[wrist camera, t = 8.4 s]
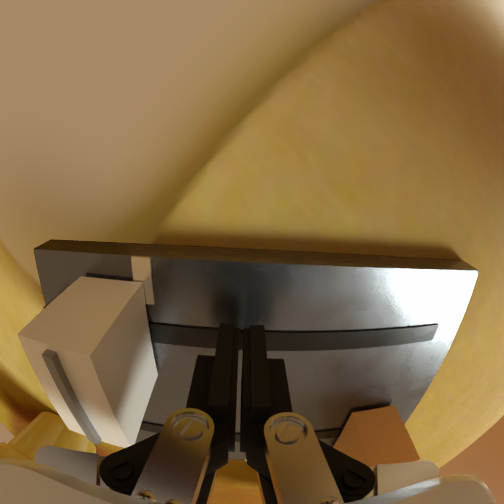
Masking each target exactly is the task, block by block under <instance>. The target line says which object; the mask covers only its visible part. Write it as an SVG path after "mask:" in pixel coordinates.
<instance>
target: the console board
mask: <svg viewBox="0 0 504 504" xmlns="http://www.w3.org/2000/svg"><path fill="white" fill-rule="evenodd" d="M34 254H35V259H36V264H37V269H38V273H39V278H40V283H41V287H42V291H43V294H44V298H45V302H46V306H48V305H49V304H50V303H51V302H52V301H53V300H54V299H55V298H56V297H58V296H59V295H60V294H61V293H62V292H63V291H64V290H66V289H67V288H68V287H69V286H70V285H71V284H72V283H74V282H75V281H76V280H77V279H78V278H80V277H81V276H83V277H92V278H102V279H111V280H121V281H132V282H143V289H144V297H145V305H146V312H147V319H148V325H149V331H150V337H151V343H152V348H153V354H154V359H155V364H156V368H157V373H158V376H157V379H156V382H155V385H154V387H153V390H152V393H151V396H150V399H149V402H148V405H147V408H146V411H145V414H144V417H143V420H142V423H141V426H140V429H139V432H138V435H137V438H136V441H135V444H136V443H138V442H140V441H142V440H144V439H146V438H149V437H151V436H153V435H155V434H157V433H159V432H161V430H162V428H163V426H164V424H165V422H166V420H167V418H168V417H169V416H170V415H171V414H172V413H173V412H175V411H177V410H180V409H185V408H186V404H187V400H188V395H189V390H190V386H191V381H192V377H193V372H194V368H195V363H196V359H197V356H198V355H209V356H215V352H216V345H217V338H218V332H219V325H220V323H230V324H234V327H235V328H240V330H239V354H238V379H237V406H236V431H235V452H229V456H228V459H235V460H245V461H247V460H246V452H240V409H241V374H242V356H243V339H244V328H250V325H264V327H265V338H266V349H267V358H273V359H284V362H285V368H286V374H287V381H288V387H289V393H290V399H291V405H292V412H293V413H296V414H299V415H301V416H303V417H305V418H306V419H307V420H308V421H309V422H310V424H311V425H312V427H313V430H314V432H315V434H316V437H317V439H319V440H321V441H323V442H324V443H326V444H328V445H330V446H331V447H333V446H334V445H335V443H336V441H337V439H338V438H339V436H340V434H341V432H342V431H343V429H344V427H345V425H346V423H347V421H348V419H349V417H350V416H351V414H352V412H359V411H365V410H371V409H377V408H382V407H387V406H392V405H395V407H396V409H397V411H398V413H399V415H400V417H401V419H402V421H403V423H404V424H405V422H406V421H407V419H408V418H409V417H410V415H411V414H412V412H413V411H414V409H415V408H416V406H417V405H418V403H419V402H420V400H421V398H422V397H423V395H424V394H425V392H426V390H427V389H428V387H429V385H430V383H431V382H432V380H433V378H434V376H435V375H436V373H437V371H438V369H439V367H440V365H441V363H442V362H443V360H444V358H445V356H446V354H447V352H448V350H449V347H450V345H451V343H452V341H453V339H454V337H455V334H456V332H457V330H458V328H459V325H460V323H461V320H462V318H463V315H464V313H465V310H466V308H467V305H468V302H469V300H470V297H471V294H472V291H473V288H474V285H475V282H476V279H477V276H478V272H479V270H477V269H476V268H474V267H472V266H471V265H469V264H468V263H466V262H464V261H462V260H445V259H427V258H409V257H391V256H373V255H355V254H336V253H317V252H298V251H279V250H259V249H240V248H220V247H199V246H179V245H158V244H137V243H115V242H95V241H73V240H49V241H47V242H46V243H44V244H42V245H40V246H38V247H36V248H35V249H34ZM46 306H44V307H43V308H45V307H46Z"/></svg>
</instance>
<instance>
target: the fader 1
mask: <svg viewBox="0 0 504 504" xmlns="http://www.w3.org/2000/svg"><path fill="white" fill-rule="evenodd" d="M18 336H19V339H20V341H21V344H22V346H23V348H24V351H25V353H26V355H27V357H28V359H29V361H30V364H31V366H32V368H33V370H34V372H35V374H36V376H37V378H38V379H39V381H40V383H41V385H42V387H43V389H44V390H45V392H46V394H47V396H48V397H49V399H50V401H51V402H52V404H53V406H54V407H55V409H56V411H57V412H58V414H59V415H60V417H61V418H62V420H63V421H64V423H65V424H66V426H67V427H68V429H69V430H71V431H74V432H77V433H79V434H82V435H85V436H87V437H88V439H89V440H90V442H92V443H95V444H98V445H99V444H100V442H101V441H103V442H106V443H109V444H112V445H116V446H119V447H123V448H127V447H129V446H131V445H133V444H135V441H136V438H137V435H138V432H139V429H140V426H141V423H142V420H143V417H144V414H145V411H146V408H147V405H148V402H149V399H150V396H151V393H152V390H153V387H154V385H155V382H156V379H157V376H158V373H157V368H156V364H155V359H154V354H153V348H152V343H151V337H150V331H149V325H148V319H147V312H146V305H145V297H144V289H143V282H132V281H121V280H111V279H102V278H92V277H83V276H81V277H80V278H78V279H77V280H76V281H75V282H74V283H72V284H71V285H70V286H69V287H68V288H67V289H66V290H64V291H63V292H62V293H61V294H60V295H59V296H58V297H56V298H55V299H54V300H53V301H52V302H51V303H50V304H49V305H48V306H46V307H45V308H44V309H43V310H42V311H41V312H40V313H39V314H38V315H37V316H36V317H35V318H34V319H33V320H32V321H31V322H30V323H28V324H27V325H26V326H25V327H24V328H23V329H22V330H21V331H20V332H19V333H18Z"/></svg>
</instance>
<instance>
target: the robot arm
mask: <svg viewBox="0 0 504 504" xmlns="http://www.w3.org/2000/svg"><path fill="white" fill-rule="evenodd" d="M239 330H240V328H235V327H234V324H230V323H220V325H219V332H218V338H217V345H216V352H215V356H209V355H198V356H197V359H196V363H195V368H194V372H193V377H192V381H191V386H190V390H189V395H188V400H187V404H186V408H185V409H180V410H177V411H175V412H173V413H172V414H171V415H170V416H169V417H168V418H167V420H166V422H165V424H164V426H163V428H162V430H161V432H159V433H157V434H155V435H153V436H151V437H149V438H146V439H144V440H142V441H140V442H138V443H136V444H133V445H131V446H129V447H127V448H124V449H122V450H120V451H117V452H115V453H113V454H110V455H109V456H107V457H105V456H99V454H97V453H89V452H83V451H76V450H71V449H65V448H60V447H55V446H44V447H41V448H40V449H39V450H38V451H37V453H36V455H35V459H34V461H30V460H25V459H19V458H3V459H0V504H209V502H210V498H211V494H212V491H213V487H214V483H215V480H216V476H217V472H218V469H219V468H221V467H222V466H224V465H225V464H227V463H228V456H229V452H235V431H236V406H237V379H238V354H239ZM240 452H246V460H247V464H248V465H249V466H250V467H252V468H253V469H254V470H256V476H257V480H258V485H259V489H260V493H261V498H262V502H263V504H497V503H496V501H495V499H494V497H493V495H492V493H491V492H490V490H489V488H488V487H487V486H486V484H485V483H484V482H483V481H482V480H481V479H479V478H478V477H476V476H473V475H464V474H457V475H448V476H441V477H440V474H439V470H438V467H437V466H436V465H435V464H434V463H433V462H430V461H415V462H406V463H394V464H377V465H376V466H375V467H368V466H367V465H365V464H364V463H362V462H360V461H358V460H356V459H354V458H352V457H350V456H348V455H346V454H344V453H342V452H340V451H339V450H337V449H335V448H333V447H331V446H330V445H328V444H326V443H324V442H323V441H321V440H319V439H317V437H316V434H315V432H314V430H313V427H312V425H311V424H310V422H309V421H308V420H307V419H306V418H305V417H303V416H301V415H299V414H296V413H293V412H292V405H291V399H290V393H289V387H288V381H287V374H286V368H285V362H284V359H273V358H267V349H266V338H265V327H264V325H250V328H244V339H243V356H242V374H241V409H240Z"/></svg>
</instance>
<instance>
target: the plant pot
mask: <svg viewBox="0 0 504 504" xmlns="http://www.w3.org/2000/svg"><path fill="white" fill-rule="evenodd" d="M44 446H55V447H60V448H65V449H71V450H76V451H83V452H89V453H96V447H95V444H94V443H92V442H90V440H89V439H88V437H87V436H85V435H82V434H79V433H77V432H74V431H71V430H69V429H68V427H67V426H66V424H65V423H64V421H63V420H62V418H61V417H60V416H59V415H57V414H54V413H52V412H48V411H43V412H41V413H40V414H39V415H38V416H37V417H36V418H35V419H34V420H33V421H32V422H31V423H29V424H28V425H27V426H26V427H25V428H24V429H23V430H22V431H21V432H20V433H19V434H18V435H17V436H16V437H14V438H13V439H12V440H11V441H10V442H9V443H8V444H6V443H0V459H3V458H19V459H25V460H30V461H34V459H35V455H36V453H37V451H38V450H39V449H40V448H41V447H44Z"/></svg>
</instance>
